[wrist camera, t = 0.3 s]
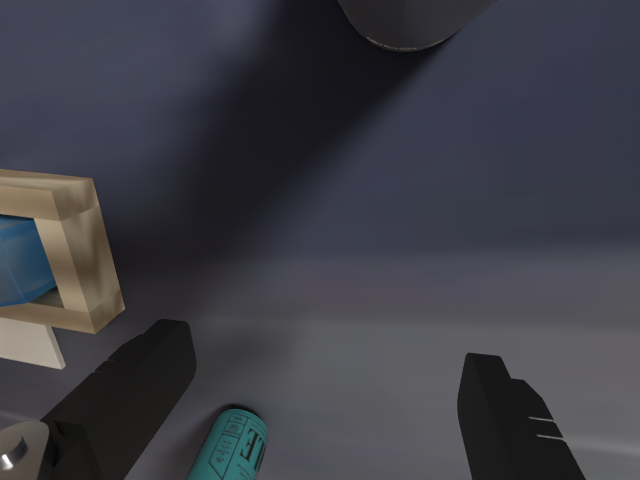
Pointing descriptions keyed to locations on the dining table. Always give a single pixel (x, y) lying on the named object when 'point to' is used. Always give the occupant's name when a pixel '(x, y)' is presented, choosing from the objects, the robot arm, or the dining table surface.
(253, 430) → the beverage bottle
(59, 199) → the pocket block
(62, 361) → the coaster
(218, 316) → the dining table surface
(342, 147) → the dining table surface
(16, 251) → the perfume bottle
